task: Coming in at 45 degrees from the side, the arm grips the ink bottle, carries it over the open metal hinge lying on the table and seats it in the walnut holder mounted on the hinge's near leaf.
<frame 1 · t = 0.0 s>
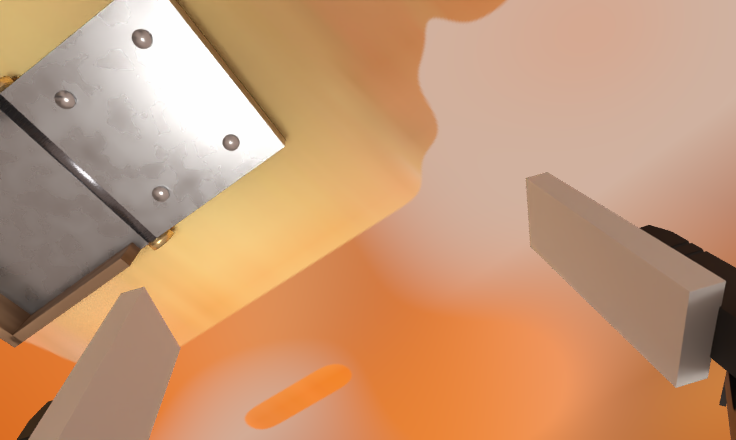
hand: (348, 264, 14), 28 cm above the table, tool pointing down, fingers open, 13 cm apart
hinge: (94, 166, 39), on the table
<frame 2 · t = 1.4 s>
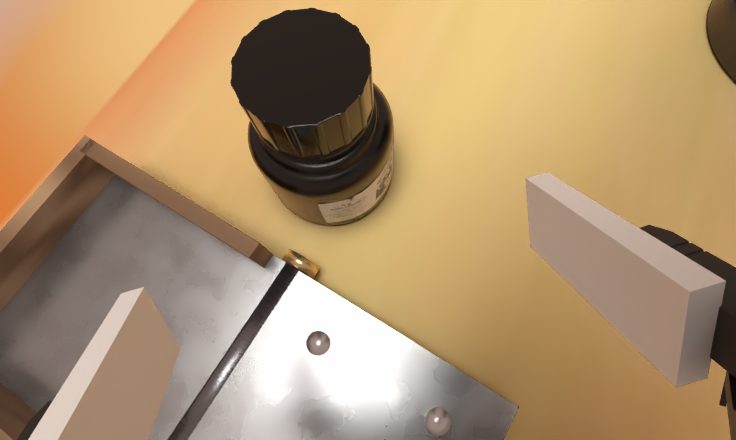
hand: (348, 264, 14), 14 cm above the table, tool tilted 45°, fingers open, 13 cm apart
hinge: (231, 379, 27), on the table
ink bottle: (334, 171, 32), on the table
holder: (94, 303, 25), point 3 cm above the table
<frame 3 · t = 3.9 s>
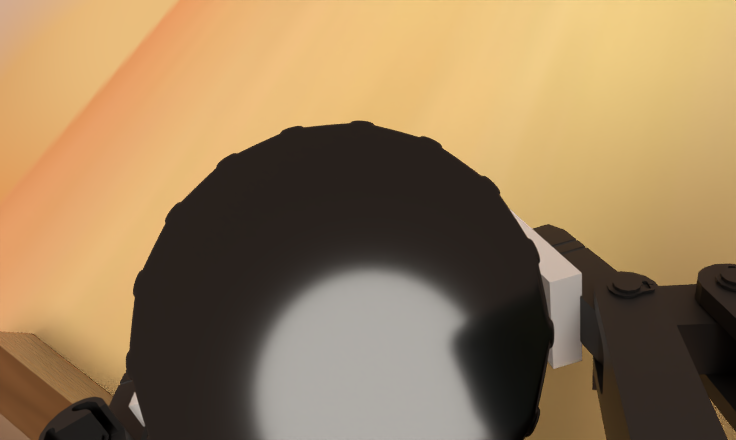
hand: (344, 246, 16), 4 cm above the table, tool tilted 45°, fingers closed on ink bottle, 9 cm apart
ink bottle: (371, 339, 18), on the table, touching gripper
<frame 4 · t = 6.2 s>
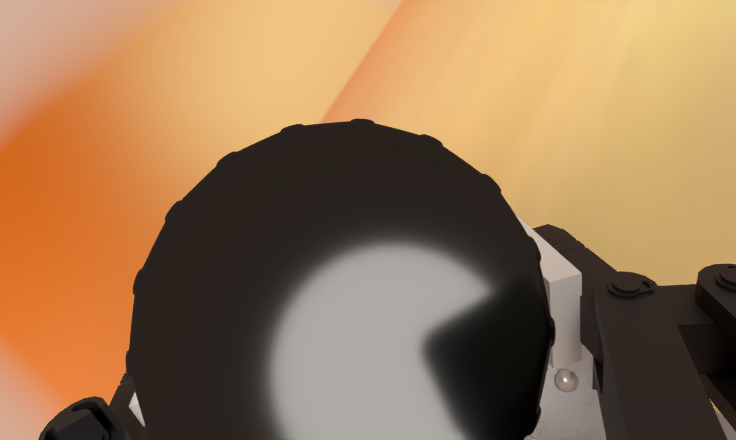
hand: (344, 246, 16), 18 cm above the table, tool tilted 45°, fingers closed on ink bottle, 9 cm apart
hinge: (468, 412, 30), on the table
ink bottle: (371, 338, 18), point 14 cm above the table, touching gripper
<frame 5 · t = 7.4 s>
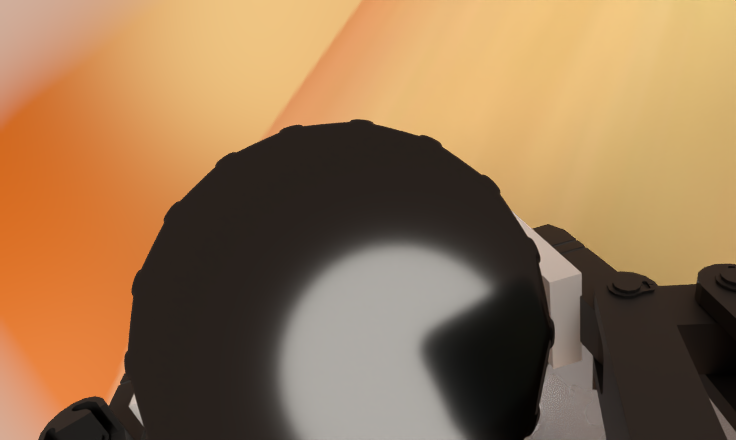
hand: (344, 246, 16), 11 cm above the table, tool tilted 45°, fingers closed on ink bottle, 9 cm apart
hinge: (499, 412, 23), on the table
ink bottle: (371, 339, 18), point 7 cm above the table, touching gripper
when the fingers open (8 cm above the table, at t = 8.5 s): ink bottle drops 1 cm, resting on hinge.
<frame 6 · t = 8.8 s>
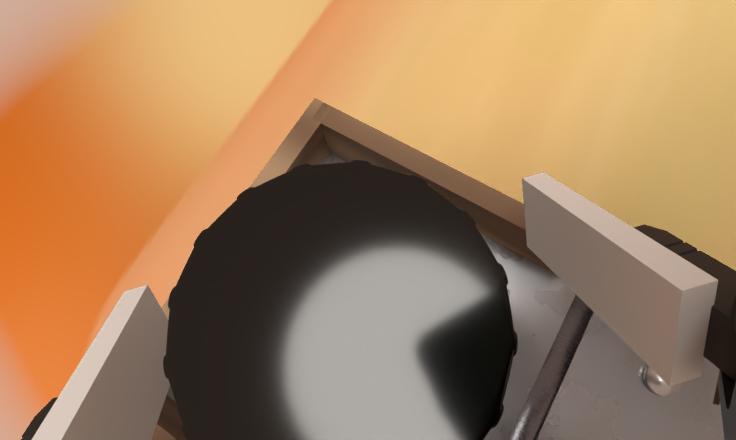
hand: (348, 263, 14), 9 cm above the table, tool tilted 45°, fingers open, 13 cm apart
hinge: (509, 424, 20), on the table
ink bottle: (369, 342, 20), point 2 cm above the table, touching hinge
holder: (353, 325, 18), point 3 cm above the table
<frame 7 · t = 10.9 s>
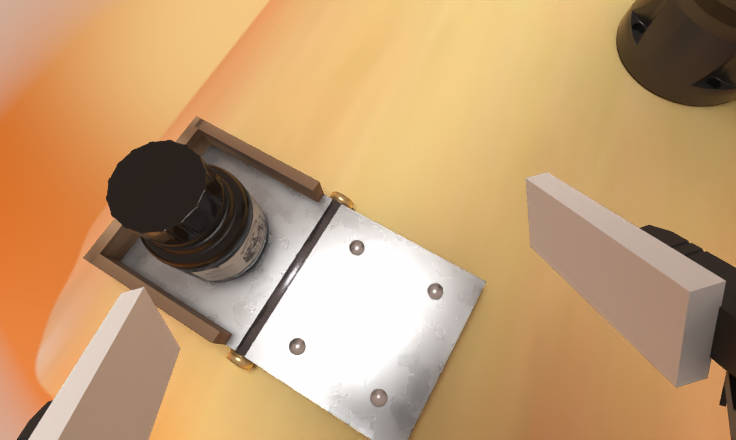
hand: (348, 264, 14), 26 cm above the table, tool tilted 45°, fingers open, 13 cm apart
hinge: (296, 278, 41), on the table
ink bottle: (222, 236, 40), point 2 cm above the table, touching hinge
holder: (210, 224, 38), point 4 cm above the table
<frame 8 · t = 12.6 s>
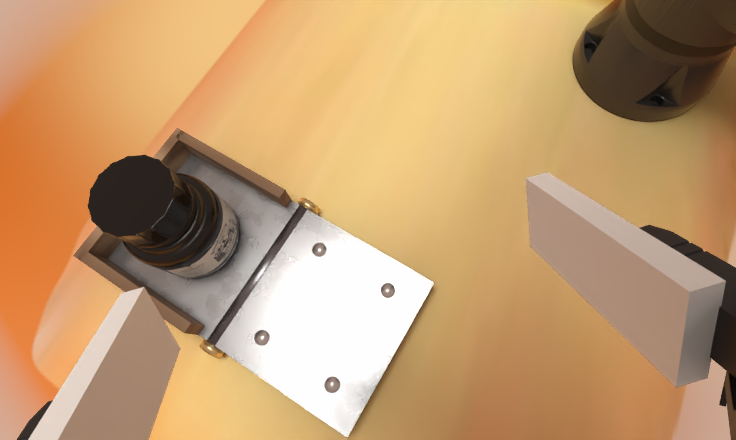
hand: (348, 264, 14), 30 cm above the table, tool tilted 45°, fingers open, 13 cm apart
hinge: (266, 276, 45), on the table
ink bottle: (199, 237, 44), point 2 cm above the table, touching hinge
holder: (187, 226, 43), on the hinge, point 3 cm above the table
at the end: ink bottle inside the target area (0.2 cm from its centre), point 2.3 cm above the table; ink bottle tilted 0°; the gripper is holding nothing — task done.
